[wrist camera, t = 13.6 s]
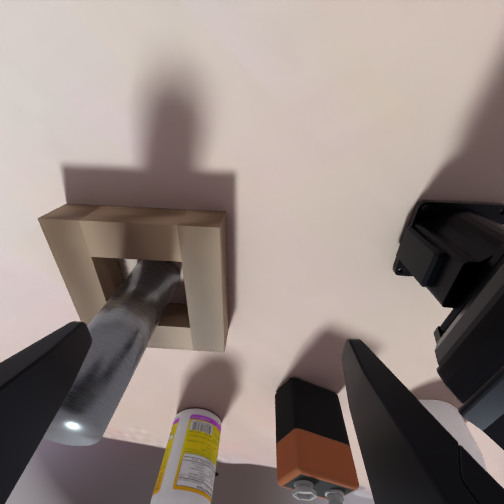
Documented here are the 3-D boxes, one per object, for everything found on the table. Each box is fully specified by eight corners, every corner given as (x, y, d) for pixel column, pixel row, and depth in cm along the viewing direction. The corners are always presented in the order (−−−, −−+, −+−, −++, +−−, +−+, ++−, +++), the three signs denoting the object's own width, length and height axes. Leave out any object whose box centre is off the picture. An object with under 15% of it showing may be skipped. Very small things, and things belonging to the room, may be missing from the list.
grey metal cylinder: (177, 256, 23) (89, 406, 12) (182, 292, 25) (111, 448, 14) (132, 254, 23) (3, 400, 12) (141, 289, 25) (37, 442, 14)
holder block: (225, 211, 20) (219, 227, 18) (228, 328, 27) (224, 352, 24) (66, 203, 21) (37, 218, 18) (107, 320, 27) (90, 343, 25)
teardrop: (457, 439, 36) (535, 577, 25) (374, 446, 38) (414, 575, 27) (464, 393, 30) (565, 543, 20) (367, 404, 33) (413, 544, 22)
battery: (291, 374, 30) (300, 483, 22) (339, 392, 32) (366, 501, 23) (273, 393, 32) (275, 498, 24) (318, 409, 34) (336, 515, 25)
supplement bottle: (188, 433, 39) (156, 566, 28) (167, 409, 36) (121, 548, 25) (229, 428, 37) (213, 566, 26) (211, 402, 34) (183, 546, 23)
